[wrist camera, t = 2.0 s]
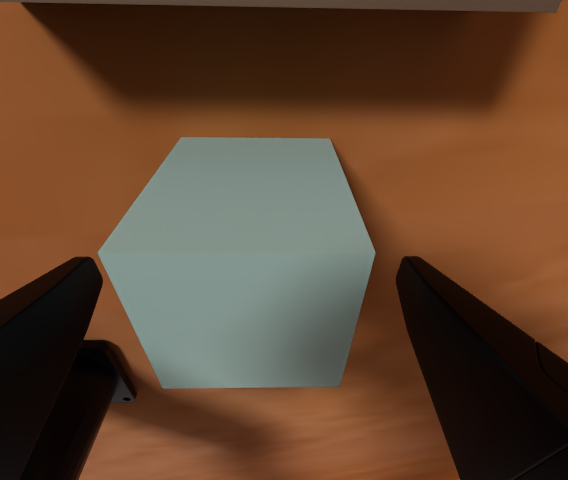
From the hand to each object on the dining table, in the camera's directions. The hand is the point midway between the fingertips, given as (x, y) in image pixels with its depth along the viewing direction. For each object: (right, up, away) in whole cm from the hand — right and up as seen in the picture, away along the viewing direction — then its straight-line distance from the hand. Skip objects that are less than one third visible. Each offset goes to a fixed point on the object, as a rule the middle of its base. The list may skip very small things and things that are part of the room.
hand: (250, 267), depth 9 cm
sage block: (0, +2, +3) cm, 4 cm away
